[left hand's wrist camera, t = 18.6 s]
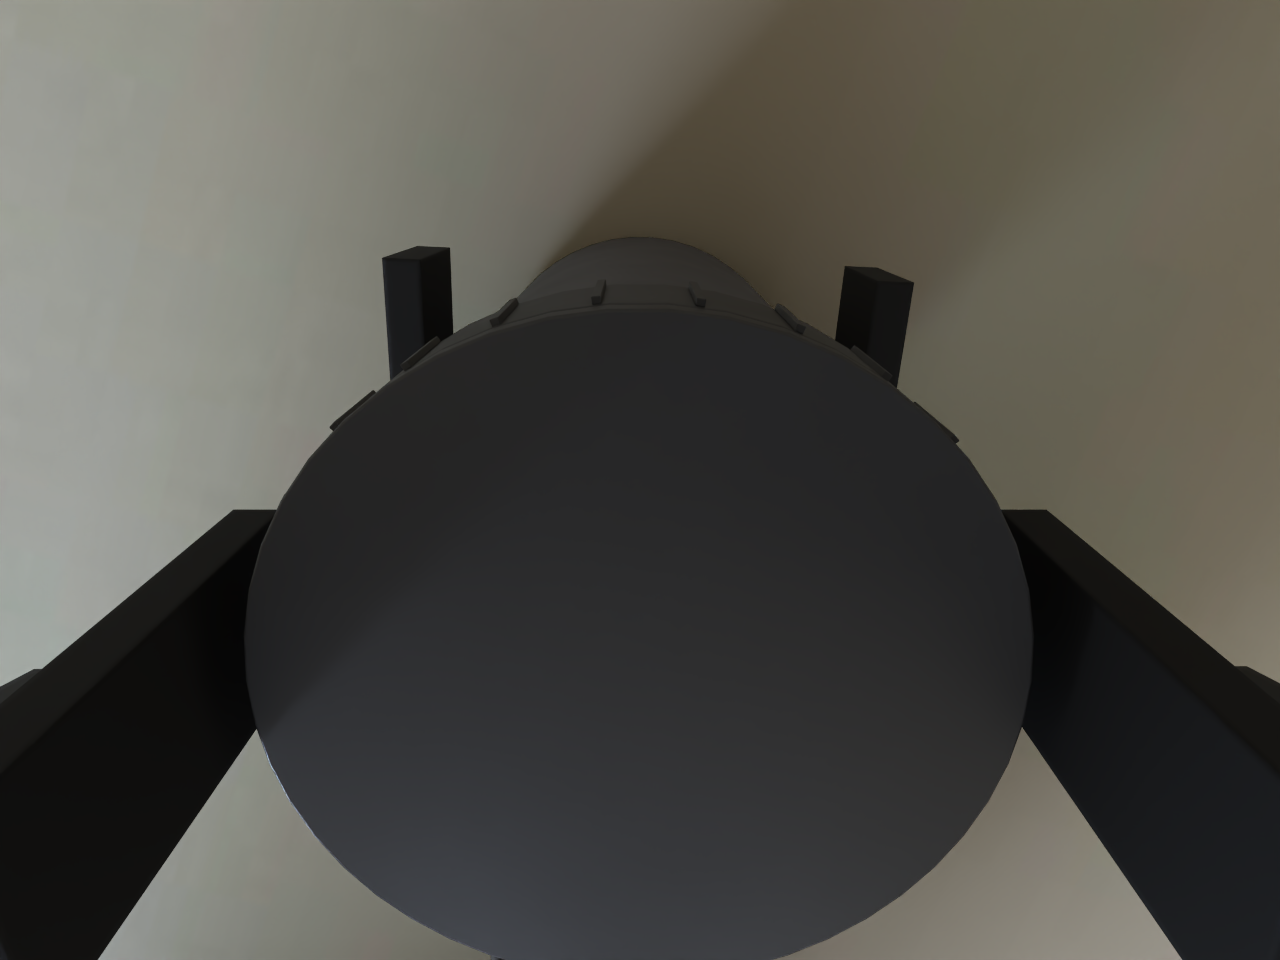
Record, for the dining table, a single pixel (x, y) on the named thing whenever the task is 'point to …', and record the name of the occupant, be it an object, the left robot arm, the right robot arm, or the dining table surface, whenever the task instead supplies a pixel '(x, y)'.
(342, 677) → the lid
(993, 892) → the dining table surface
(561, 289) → the jar
